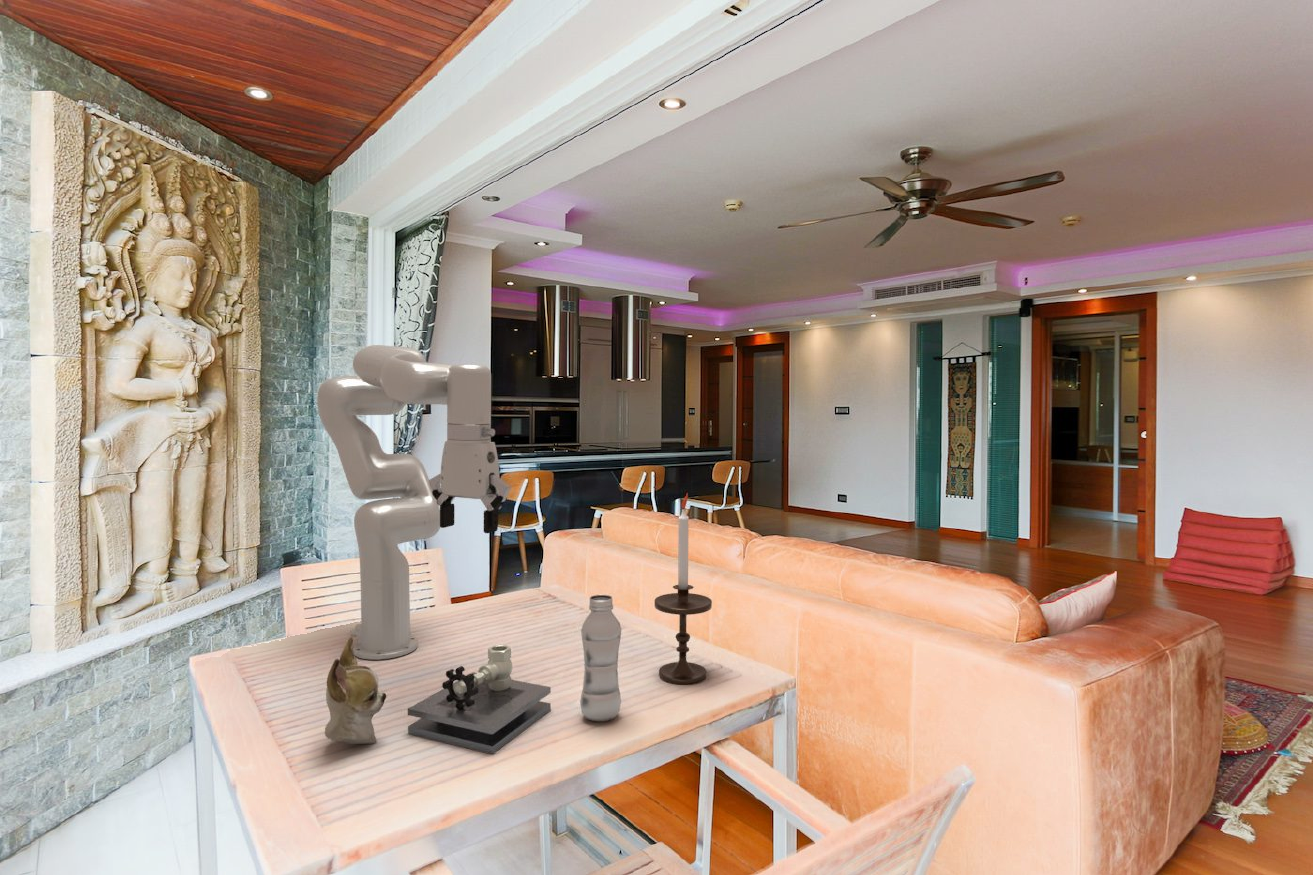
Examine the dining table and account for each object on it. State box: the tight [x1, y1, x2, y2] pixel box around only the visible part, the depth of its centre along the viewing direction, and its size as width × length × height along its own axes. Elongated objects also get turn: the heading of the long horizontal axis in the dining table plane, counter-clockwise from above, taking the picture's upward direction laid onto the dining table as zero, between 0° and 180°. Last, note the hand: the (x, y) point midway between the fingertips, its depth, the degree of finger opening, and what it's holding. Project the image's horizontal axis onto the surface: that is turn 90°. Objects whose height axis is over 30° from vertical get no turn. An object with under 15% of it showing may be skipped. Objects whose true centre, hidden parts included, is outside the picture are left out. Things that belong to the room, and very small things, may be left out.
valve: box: [441, 644, 513, 710], centre depth 112 cm, size 7×7×12 cm
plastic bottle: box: [579, 594, 622, 722], centre depth 113 cm, size 6×7×20 cm
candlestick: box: [654, 492, 713, 686], centre depth 130 cm, size 11×11×35 cm
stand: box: [407, 671, 552, 755], centre depth 112 cm, size 16×16×4 cm
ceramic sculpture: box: [324, 636, 387, 745], centre depth 104 cm, size 11×9×15 cm
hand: (468, 529), depth 124 cm, fingers open, 9 cm apart
